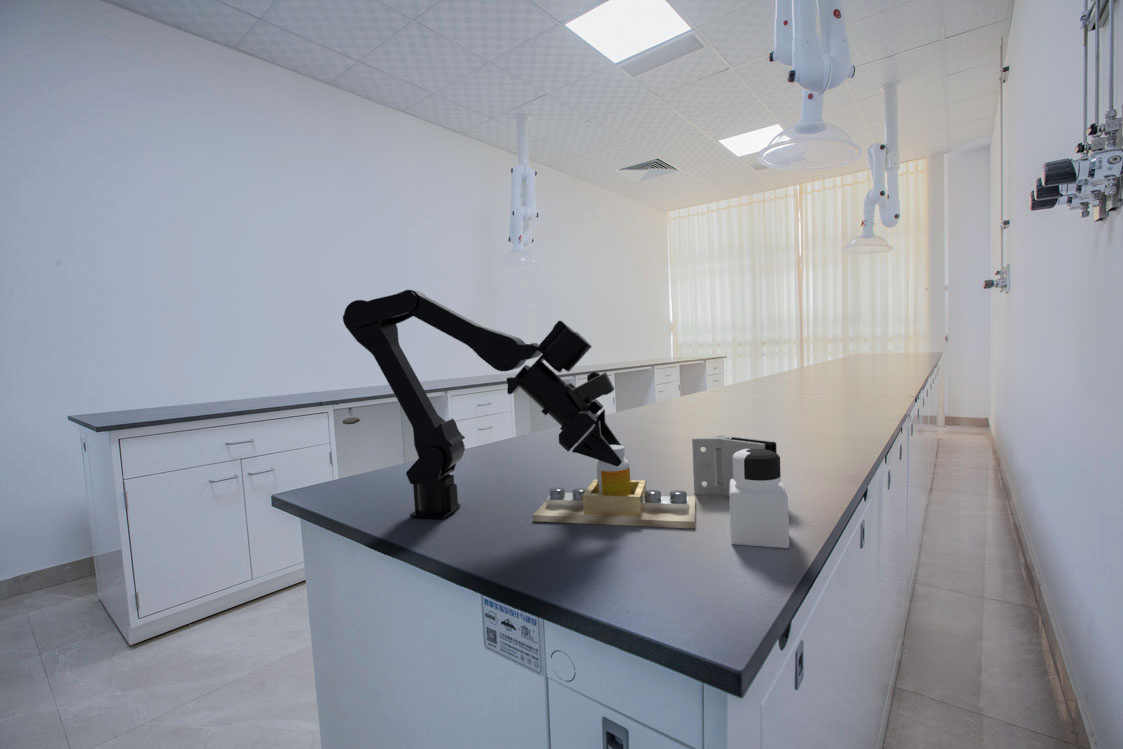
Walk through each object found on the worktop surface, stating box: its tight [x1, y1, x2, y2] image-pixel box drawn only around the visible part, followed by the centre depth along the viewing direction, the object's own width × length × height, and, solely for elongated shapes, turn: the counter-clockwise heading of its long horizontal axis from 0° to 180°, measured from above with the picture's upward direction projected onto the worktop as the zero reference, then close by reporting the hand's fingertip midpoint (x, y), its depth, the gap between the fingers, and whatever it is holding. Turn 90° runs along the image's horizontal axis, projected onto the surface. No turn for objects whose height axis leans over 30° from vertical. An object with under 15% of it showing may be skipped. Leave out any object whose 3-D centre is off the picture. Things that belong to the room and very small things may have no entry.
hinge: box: [691, 435, 778, 497], centre depth 87 cm, size 14×5×10 cm, turn 52°
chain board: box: [532, 492, 696, 529], centre depth 82 cm, size 25×12×1 cm, turn 75°
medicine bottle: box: [728, 449, 790, 549], centre depth 68 cm, size 7×7×12 cm
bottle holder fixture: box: [545, 478, 689, 516], centre depth 82 cm, size 23×9×3 cm, turn 75°
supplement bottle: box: [596, 444, 631, 495], centre depth 82 cm, size 5×5×10 cm
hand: (620, 457), depth 81 cm, fingers open, 9 cm apart
